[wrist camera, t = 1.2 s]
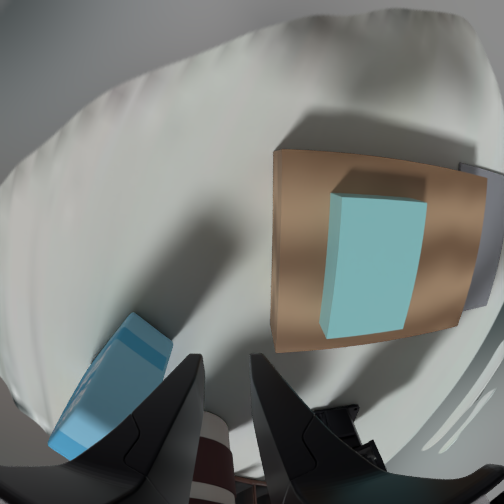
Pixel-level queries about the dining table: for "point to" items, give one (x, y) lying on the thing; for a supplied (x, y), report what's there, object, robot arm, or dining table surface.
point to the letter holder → (251, 491)
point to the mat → (487, 238)
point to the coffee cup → (213, 465)
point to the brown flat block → (316, 238)
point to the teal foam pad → (370, 263)
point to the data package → (112, 386)
